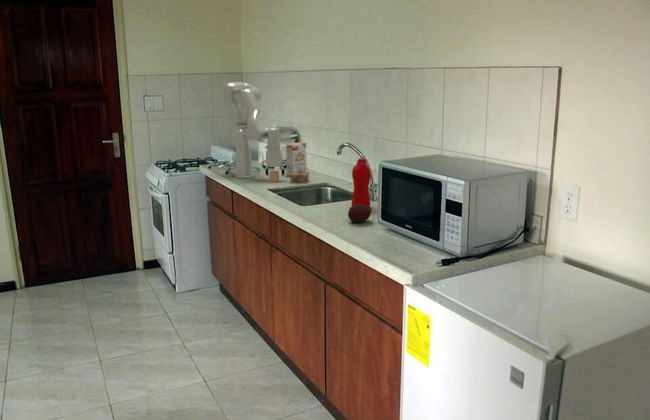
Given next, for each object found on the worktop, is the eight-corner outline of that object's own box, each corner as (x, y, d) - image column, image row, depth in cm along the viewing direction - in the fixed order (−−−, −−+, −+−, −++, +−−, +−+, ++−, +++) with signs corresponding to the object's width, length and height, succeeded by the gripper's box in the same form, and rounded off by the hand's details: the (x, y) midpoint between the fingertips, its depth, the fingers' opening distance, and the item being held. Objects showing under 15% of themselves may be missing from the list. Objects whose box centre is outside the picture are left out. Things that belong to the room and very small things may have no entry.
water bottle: (348, 205, 270) (348, 157, 264) (369, 205, 270) (370, 157, 264) (348, 210, 261) (348, 160, 255) (370, 210, 261) (371, 160, 255)
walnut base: (290, 183, 324) (290, 175, 323) (292, 179, 334) (292, 171, 333) (306, 183, 323) (306, 175, 322) (308, 180, 333) (308, 172, 332)
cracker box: (293, 177, 342) (292, 144, 336) (286, 176, 345) (285, 144, 340) (306, 174, 352) (306, 142, 347) (299, 172, 356) (299, 141, 351)
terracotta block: (269, 181, 328) (269, 172, 327) (271, 180, 333) (271, 170, 332) (277, 181, 328) (277, 172, 326) (279, 180, 333) (278, 170, 331)
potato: (359, 217, 249) (359, 200, 247) (377, 222, 241) (377, 204, 239) (341, 221, 242) (342, 204, 240) (359, 227, 234) (360, 208, 232)
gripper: (258, 149, 322) (260, 176, 327) (286, 148, 321) (287, 176, 325) (261, 147, 330) (262, 174, 334) (288, 147, 328) (289, 174, 332)
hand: (275, 175), depth 329 cm, fingers open, 9 cm apart
